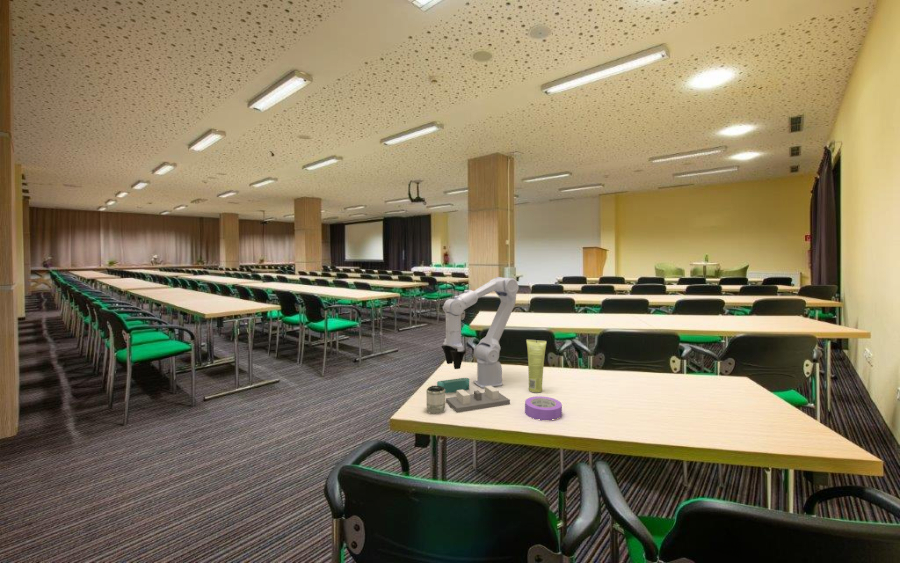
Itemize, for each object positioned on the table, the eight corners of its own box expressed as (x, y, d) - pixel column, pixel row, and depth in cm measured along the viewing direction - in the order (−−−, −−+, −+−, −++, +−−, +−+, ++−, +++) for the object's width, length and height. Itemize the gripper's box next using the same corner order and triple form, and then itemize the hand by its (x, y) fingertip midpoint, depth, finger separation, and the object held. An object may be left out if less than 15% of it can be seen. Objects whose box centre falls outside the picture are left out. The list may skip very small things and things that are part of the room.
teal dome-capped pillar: (467, 387, 153) (467, 377, 153) (470, 389, 150) (470, 379, 150) (436, 391, 148) (436, 381, 148) (438, 394, 146) (438, 383, 145)
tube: (537, 387, 153) (538, 338, 151) (546, 391, 148) (546, 340, 147) (525, 389, 150) (526, 339, 149) (534, 393, 146) (534, 342, 144)
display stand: (496, 394, 145) (496, 382, 145) (509, 404, 136) (510, 391, 135) (445, 402, 138) (445, 389, 137) (456, 412, 128) (456, 399, 128)
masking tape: (568, 413, 128) (568, 402, 127) (549, 424, 119) (549, 412, 119) (537, 404, 136) (537, 393, 136) (517, 414, 128) (517, 402, 127)
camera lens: (443, 414, 127) (443, 391, 126) (424, 413, 128) (424, 389, 127) (447, 407, 133) (446, 384, 132) (429, 406, 134) (428, 383, 134)
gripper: (436, 328, 153) (437, 362, 154) (450, 335, 140) (450, 372, 141) (453, 327, 156) (453, 360, 157) (468, 333, 142) (468, 370, 143)
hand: (453, 366), depth 149 cm, fingers open, 7 cm apart
